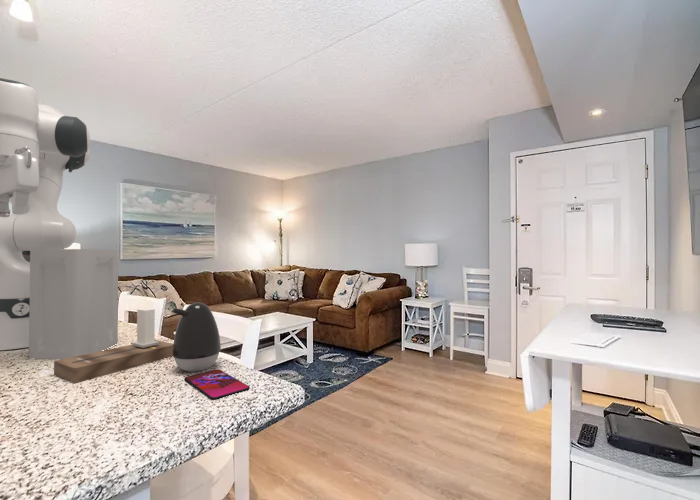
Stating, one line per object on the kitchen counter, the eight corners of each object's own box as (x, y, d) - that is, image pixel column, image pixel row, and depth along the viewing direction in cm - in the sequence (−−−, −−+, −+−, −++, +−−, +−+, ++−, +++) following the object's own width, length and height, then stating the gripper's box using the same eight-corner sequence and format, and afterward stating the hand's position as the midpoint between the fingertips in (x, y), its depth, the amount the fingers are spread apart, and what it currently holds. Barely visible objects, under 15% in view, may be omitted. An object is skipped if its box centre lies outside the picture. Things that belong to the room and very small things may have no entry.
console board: (74, 383, 69) (74, 368, 69) (53, 374, 74) (54, 361, 74) (176, 355, 88) (176, 344, 88) (154, 350, 93) (154, 339, 93)
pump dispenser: (164, 368, 78) (164, 302, 78) (209, 358, 86) (209, 298, 86) (181, 379, 71) (182, 307, 71) (228, 367, 79) (228, 302, 79)
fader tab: (143, 347, 84) (143, 311, 84) (132, 345, 86) (132, 309, 86) (159, 344, 87) (159, 309, 87) (148, 341, 90) (148, 307, 90)
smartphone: (211, 398, 60) (182, 377, 71) (211, 403, 60) (182, 381, 71) (251, 387, 66) (219, 368, 76) (251, 391, 66) (219, 372, 76)
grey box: (29, 367, 79) (30, 248, 80) (28, 354, 90) (30, 250, 91) (125, 351, 93) (126, 249, 93) (115, 342, 103) (115, 250, 104)
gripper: (49, 149, 72) (48, 213, 72) (14, 163, 83) (14, 219, 82) (8, 140, 67) (7, 210, 66) (-23, 156, 77) (-24, 217, 77)
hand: (11, 215), depth 74 cm, fingers open, 8 cm apart
